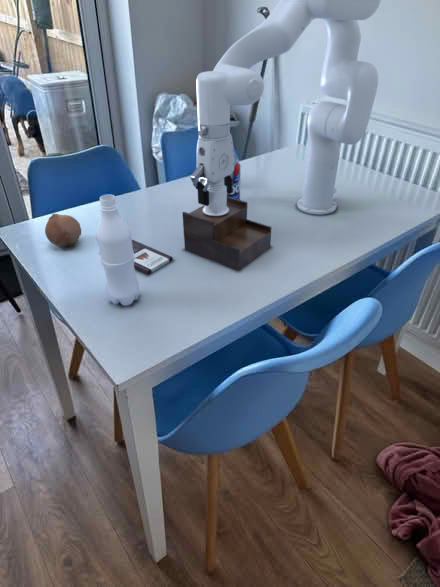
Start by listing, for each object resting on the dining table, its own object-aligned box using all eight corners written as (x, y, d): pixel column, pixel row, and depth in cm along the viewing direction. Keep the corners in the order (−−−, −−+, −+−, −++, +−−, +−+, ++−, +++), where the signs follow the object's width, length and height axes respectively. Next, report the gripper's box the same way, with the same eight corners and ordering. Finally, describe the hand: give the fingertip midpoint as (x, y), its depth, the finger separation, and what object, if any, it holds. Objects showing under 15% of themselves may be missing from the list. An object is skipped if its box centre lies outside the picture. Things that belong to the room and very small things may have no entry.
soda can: (227, 198, 144) (227, 154, 136) (244, 205, 140) (245, 160, 131) (211, 205, 140) (210, 160, 131) (228, 212, 135) (228, 166, 127)
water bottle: (111, 291, 101) (91, 191, 86) (141, 289, 101) (127, 189, 87) (107, 309, 95) (85, 205, 80) (139, 307, 95) (123, 203, 81)
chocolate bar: (126, 237, 120) (172, 256, 111) (127, 240, 121) (172, 260, 112) (101, 249, 115) (147, 271, 105) (101, 252, 115) (147, 274, 106)
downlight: (229, 217, 109) (229, 180, 104) (201, 217, 110) (200, 180, 104) (228, 205, 116) (228, 169, 110) (203, 205, 116) (201, 169, 110)
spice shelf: (218, 229, 126) (218, 193, 119) (270, 247, 117) (272, 209, 110) (184, 250, 116) (182, 212, 110) (238, 271, 107) (238, 231, 101)
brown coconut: (58, 251, 122) (39, 219, 119) (88, 237, 124) (70, 205, 121) (54, 256, 114) (35, 222, 110) (87, 241, 115) (68, 206, 112)
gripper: (203, 141, 93) (205, 213, 103) (247, 124, 104) (246, 190, 114) (177, 136, 97) (182, 205, 107) (223, 120, 108) (224, 184, 118)
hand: (215, 198), depth 111 cm, fingers open, 9 cm apart
